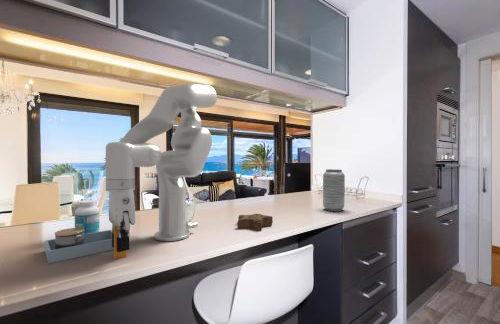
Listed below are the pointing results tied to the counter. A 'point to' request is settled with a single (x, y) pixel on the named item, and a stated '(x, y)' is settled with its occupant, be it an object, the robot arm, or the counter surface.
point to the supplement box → (116, 254)
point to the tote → (80, 247)
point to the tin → (69, 237)
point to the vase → (333, 190)
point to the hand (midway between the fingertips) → (120, 247)
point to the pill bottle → (87, 217)
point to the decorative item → (254, 221)
